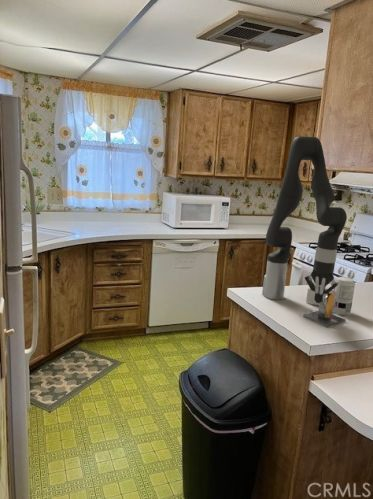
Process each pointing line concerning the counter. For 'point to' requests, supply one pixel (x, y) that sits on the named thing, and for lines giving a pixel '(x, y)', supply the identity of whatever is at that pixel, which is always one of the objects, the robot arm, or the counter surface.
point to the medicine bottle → (312, 296)
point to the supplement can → (344, 295)
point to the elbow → (329, 303)
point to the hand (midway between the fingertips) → (318, 302)
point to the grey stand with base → (323, 317)
